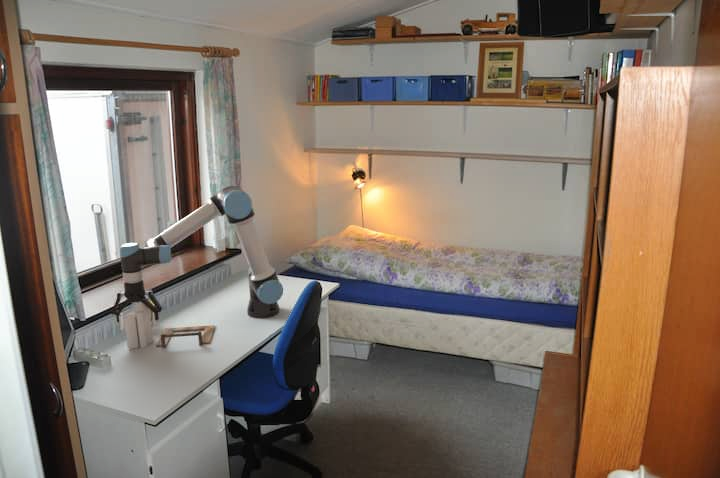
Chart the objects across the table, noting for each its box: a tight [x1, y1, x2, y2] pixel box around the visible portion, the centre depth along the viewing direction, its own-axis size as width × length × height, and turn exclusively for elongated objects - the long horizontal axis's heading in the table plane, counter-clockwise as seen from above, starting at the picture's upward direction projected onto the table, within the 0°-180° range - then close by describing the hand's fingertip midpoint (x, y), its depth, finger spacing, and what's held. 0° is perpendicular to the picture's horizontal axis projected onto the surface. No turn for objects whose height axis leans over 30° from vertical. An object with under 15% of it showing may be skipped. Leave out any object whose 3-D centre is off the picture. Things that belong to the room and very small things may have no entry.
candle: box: [123, 294, 154, 350], centre depth 237 cm, size 11×7×20 cm, turn 160°
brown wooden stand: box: [155, 325, 216, 349], centre depth 245 cm, size 22×19×6 cm
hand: (139, 328), depth 238 cm, fingers open, 13 cm apart
